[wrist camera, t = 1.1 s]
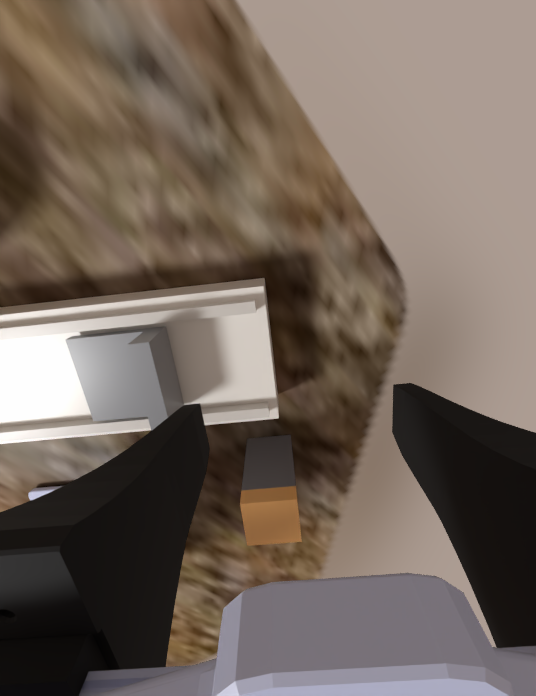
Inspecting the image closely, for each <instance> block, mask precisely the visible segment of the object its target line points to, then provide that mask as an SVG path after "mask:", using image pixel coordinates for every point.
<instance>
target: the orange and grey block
mask: <svg viewBox="0 0 536 696" xmlns="http://www.w3.org/2000/svg"><path fill="white" fill-rule="evenodd" d="M240 507H241V513H242V518H243V524H244V529H245V535H246V540H247V546H250V545H263V544H276V543H290V542H302V541H301V531H300V521H299V511H298V501H297V491H296V481H295V471H294V461H293V452H292V442H291V435H282V436H271V437H259V438H248V439H247V445H246V454H245V463H244V472H243V481H242V490H241V499H240Z"/></svg>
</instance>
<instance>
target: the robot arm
mask: <svg viewBox="0 0 536 696" xmlns="http://www.w3.org/2000/svg"><path fill="white" fill-rule="evenodd" d="M392 432H393V435H394V437H395V439H396V442H397V444H398V447H399V449H400V451H401V453H402V456H403V458H404V459H405V461H406V462H407V464H408V466H409V468H410V469H411V471H412V473H413V474H414V476H415V478H416V479H417V481H418V483H419V484H420V486H421V488H422V489H423V491H424V492H425V494H426V496H427V497H428V499H429V501H430V502H431V504H432V506H433V507H434V509H435V511H436V513H437V514H438V516H439V518H440V520H441V522H442V524H443V526H444V528H445V530H446V532H447V534H448V536H449V538H450V540H451V543H452V544H453V547H454V549H455V551H456V553H457V555H458V558H459V560H460V562H461V564H462V566H463V569H464V571H465V573H466V575H467V578H468V580H469V582H470V584H471V586H472V589H473V591H474V594H475V596H476V598H477V601H478V603H479V605H480V608H481V610H482V612H483V615H484V617H485V619H486V622H487V624H488V627H489V629H490V631H491V634H492V636H493V639H494V641H495V644H496V647H497V648H495V647H492V646H491V644H490V642H489V640H488V638H487V636H486V635H485V633H484V631H483V629H482V627H481V625H480V623H479V621H478V619H477V617H476V615H475V614H474V612H473V610H472V608H471V606H470V604H469V602H468V600H467V599H466V597H465V595H464V593H463V592H462V591H460V590H459V589H457V588H456V587H454V586H452V585H451V584H449V583H448V582H446V581H445V580H443V579H442V578H439V577H436V576H429V575H420V574H412V573H400V574H386V575H371V576H359V577H358V576H357V577H342V578H328V579H313V580H299V581H284V582H272V583H268V584H264V585H260V586H256V587H253V588H249V589H246V590H245V591H243V592H242V593H241V594H240V595H238V596H237V597H236V598H235V599H234V600H233V601H232V602H230V603H229V604H228V605H227V606H226V607H225V608H224V609H223V616H222V622H221V629H220V637H219V645H218V653H217V658H216V659H212V660H209V661H206V662H202V663H199V664H196V665H192V666H175V667H166V659H167V651H168V644H169V638H170V631H171V624H172V618H173V611H174V605H175V599H176V593H177V587H178V582H179V576H180V570H181V565H182V560H183V555H184V549H185V544H186V540H187V536H188V532H189V528H190V525H191V521H192V518H193V515H194V511H195V508H196V505H197V501H198V498H199V495H200V491H201V488H202V485H203V481H204V478H205V474H206V469H207V463H208V457H209V450H210V448H209V443H208V438H207V434H206V429H205V424H204V420H203V415H202V410H201V405H200V403H199V404H189V405H183V406H182V407H180V408H179V409H178V410H177V411H175V412H174V413H173V414H172V415H170V416H169V417H168V418H167V419H166V420H164V421H163V422H162V423H161V424H159V425H158V426H157V427H156V428H155V429H153V430H152V431H151V432H150V433H148V434H147V435H146V436H144V437H143V438H142V439H140V440H139V441H138V442H136V443H135V444H134V445H132V446H131V447H130V448H128V449H127V450H125V451H124V452H122V453H121V454H119V455H118V456H116V457H115V458H113V459H112V460H110V461H108V462H107V463H105V464H104V465H102V466H100V467H98V468H97V469H95V470H93V471H91V472H89V473H87V474H86V475H84V476H82V477H80V478H78V479H76V480H74V481H72V482H71V483H69V484H67V485H65V486H55V487H43V488H34V489H32V490H31V491H30V492H29V494H28V495H29V498H30V500H31V501H29V502H26V503H24V504H22V505H19V506H16V507H14V508H11V509H8V510H6V511H3V512H0V696H536V433H534V432H531V431H528V430H524V429H521V428H518V427H515V426H512V425H509V424H506V423H503V422H500V421H498V420H495V419H492V418H489V417H487V416H484V415H482V414H480V413H477V412H475V411H472V410H470V409H467V408H465V407H463V406H461V405H458V404H456V403H454V402H452V401H449V400H447V399H445V398H443V397H441V396H439V395H437V394H435V393H432V392H430V391H428V390H426V389H424V388H422V387H419V386H417V385H414V384H412V383H407V384H396V385H394V387H393V429H392Z"/></svg>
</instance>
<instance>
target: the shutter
mask: <svg viewBox="0 0 536 696" xmlns="http://www.w3.org/2000/svg"><path fill="white" fill-rule="evenodd" d="M66 343H67V346H68V349H69V352H70V355H71V358H72V361H73V363H74V366H75V369H76V372H77V375H78V378H79V381H80V384H81V387H82V389H83V392H84V395H85V398H86V401H87V404H88V407H89V410H90V412H91V415H92V418H93V421H104V420H115V419H125V418H136V417H147V416H148V420H149V424H150V427H151V431H152V430H153V429H155V428H156V427H157V426H158V425H159V424H161V423H162V422H163V421H164V420H166V419H167V418H168V417H169V416H170V415H172V414H173V413H174V412H175V411H177V410H178V409H179V408H180V407H182V406H183V405H184V402H183V398H182V393H181V389H180V385H179V380H178V376H177V372H176V367H175V363H174V358H173V354H172V350H171V345H170V341H169V337H168V332H167V328H166V326H163V327H154V328H144V329H135V330H126V331H116V332H107V333H97V334H88V335H79V336H71V337H70V338H68V339H66Z"/></svg>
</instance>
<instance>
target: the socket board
mask: <svg viewBox="0 0 536 696" xmlns="http://www.w3.org/2000/svg"><path fill="white" fill-rule="evenodd" d="M163 326H166V328H167V332H168V337H169V341H170V345H171V350H172V354H173V358H174V363H175V367H176V372H177V376H178V380H179V385H180V389H181V393H182V398H183V402H184V405H189V404H199V403H200V405H201V410H202V415H203V420H204V424H205V425H213V424H224V423H235V422H246V421H257V420H268V419H279V409H278V391H277V382H276V374H275V365H274V356H273V347H272V338H271V330H270V321H269V312H268V303H267V294H266V285H265V278H259V279H250V280H241V281H232V282H223V283H214V284H205V285H196V286H187V287H178V288H169V289H160V290H151V291H142V292H134V293H125V294H116V295H107V296H98V297H89V298H80V299H71V300H62V301H53V302H44V303H35V304H26V305H17V306H8V307H0V444H5V443H16V442H27V441H38V440H49V439H59V438H70V437H81V436H92V435H103V434H114V433H125V432H136V431H147V430H151V427H150V424H149V420H148V416H147V417H136V418H125V419H115V420H104V421H93V418H92V415H91V412H90V410H89V407H88V404H87V401H86V398H85V395H84V392H83V389H82V387H81V384H80V381H79V378H78V375H77V372H76V369H75V366H74V363H73V361H72V358H71V355H70V352H69V349H68V346H67V343H66V339H68V338H70V337H71V336H79V335H88V334H97V333H107V332H116V331H126V330H135V329H144V328H154V327H163Z"/></svg>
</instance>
